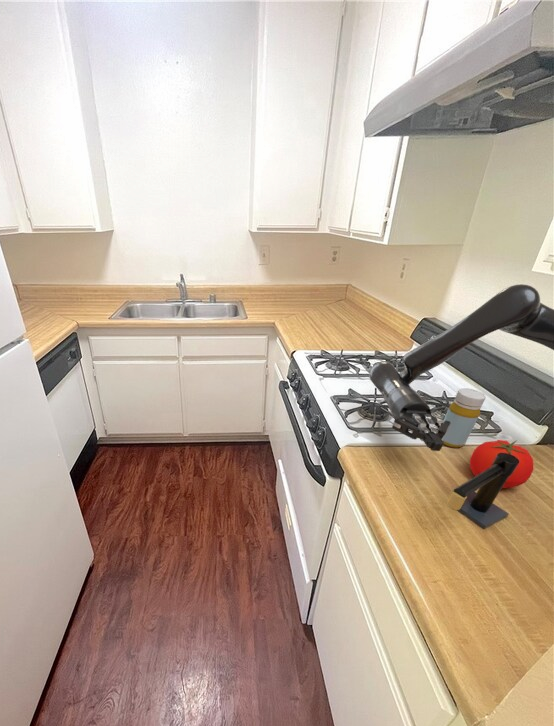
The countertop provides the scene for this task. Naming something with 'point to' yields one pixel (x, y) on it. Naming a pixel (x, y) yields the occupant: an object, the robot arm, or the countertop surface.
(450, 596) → the countertop surface
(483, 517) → the faucet base
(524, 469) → the tomato
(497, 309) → the robot arm
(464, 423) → the bottle
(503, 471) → the spout
